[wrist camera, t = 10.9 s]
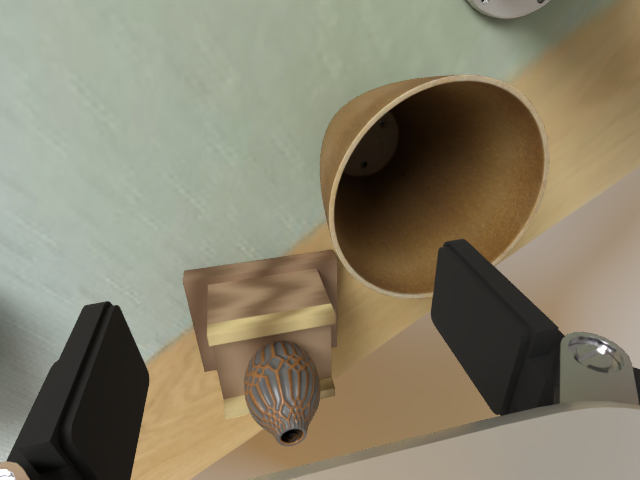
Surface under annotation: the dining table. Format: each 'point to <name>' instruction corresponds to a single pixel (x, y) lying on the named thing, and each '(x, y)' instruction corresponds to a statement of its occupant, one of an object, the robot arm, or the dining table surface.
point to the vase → (282, 390)
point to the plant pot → (430, 176)
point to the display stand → (263, 316)
